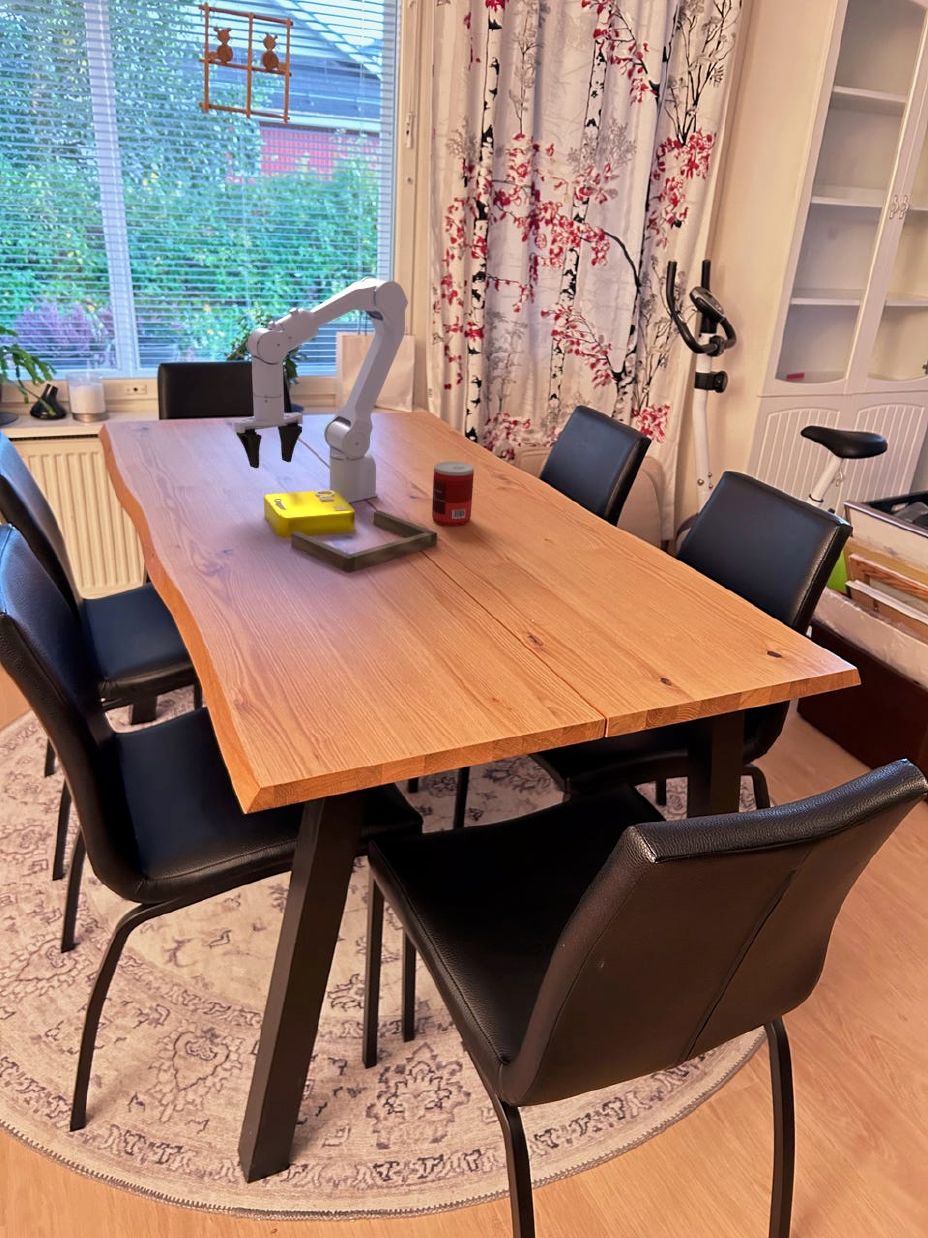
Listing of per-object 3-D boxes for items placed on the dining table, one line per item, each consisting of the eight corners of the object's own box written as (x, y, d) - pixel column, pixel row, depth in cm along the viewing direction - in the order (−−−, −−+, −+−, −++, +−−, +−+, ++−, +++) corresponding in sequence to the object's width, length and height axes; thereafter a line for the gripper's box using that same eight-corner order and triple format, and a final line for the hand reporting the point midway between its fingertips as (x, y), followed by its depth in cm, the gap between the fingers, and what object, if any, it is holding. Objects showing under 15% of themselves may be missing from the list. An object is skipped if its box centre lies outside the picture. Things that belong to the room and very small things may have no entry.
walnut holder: (379, 522, 175) (379, 510, 174) (436, 545, 165) (437, 532, 164) (291, 546, 161) (290, 532, 160) (348, 572, 151) (348, 558, 150)
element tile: (262, 514, 177) (261, 491, 175) (336, 509, 182) (336, 486, 180) (279, 540, 164) (278, 515, 162) (357, 533, 170) (357, 509, 168)
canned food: (476, 518, 181) (480, 465, 176) (460, 529, 174) (463, 474, 169) (442, 511, 183) (445, 458, 179) (425, 522, 177) (427, 467, 172)
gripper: (287, 387, 178) (288, 454, 184) (223, 394, 168) (227, 465, 174) (308, 393, 174) (309, 461, 180) (245, 401, 164) (248, 473, 170)
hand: (270, 464), depth 177 cm, fingers open, 7 cm apart
